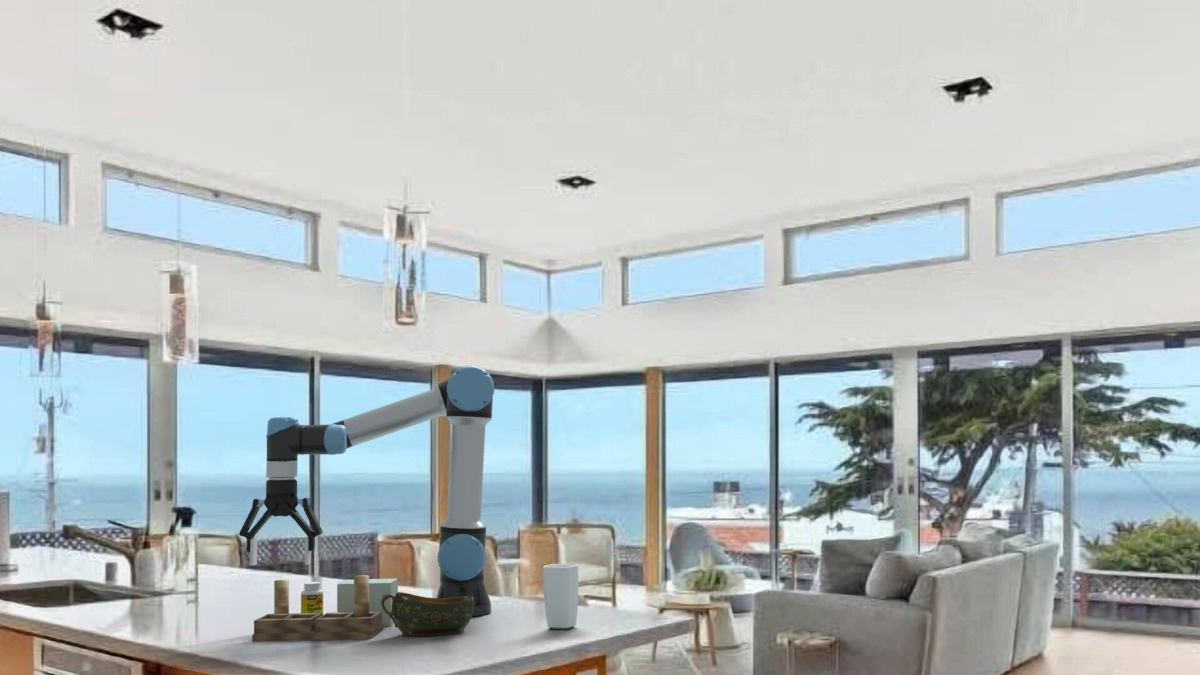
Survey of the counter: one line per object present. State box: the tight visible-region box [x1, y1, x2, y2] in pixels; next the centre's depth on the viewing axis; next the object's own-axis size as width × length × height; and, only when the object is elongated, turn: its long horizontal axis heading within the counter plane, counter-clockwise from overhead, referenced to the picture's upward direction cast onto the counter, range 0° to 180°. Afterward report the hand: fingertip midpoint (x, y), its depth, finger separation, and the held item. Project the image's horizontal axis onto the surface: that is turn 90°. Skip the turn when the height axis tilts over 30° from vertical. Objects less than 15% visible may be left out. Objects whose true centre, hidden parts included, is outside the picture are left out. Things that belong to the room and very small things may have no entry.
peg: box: [273, 579, 290, 614], centre depth 268 cm, size 4×4×12 cm
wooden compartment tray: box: [252, 574, 384, 642], centre depth 259 cm, size 28×12×14 cm, turn 89°
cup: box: [542, 563, 579, 630], centre depth 261 cm, size 7×7×15 cm
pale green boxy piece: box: [336, 578, 399, 627], centre depth 275 cm, size 14×9×10 cm, turn 89°
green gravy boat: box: [381, 591, 474, 638], centre depth 258 cm, size 13×20×10 cm, turn 78°
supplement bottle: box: [300, 581, 324, 614], centre depth 277 cm, size 6×6×10 cm
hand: (280, 564), depth 269 cm, fingers open, 13 cm apart
